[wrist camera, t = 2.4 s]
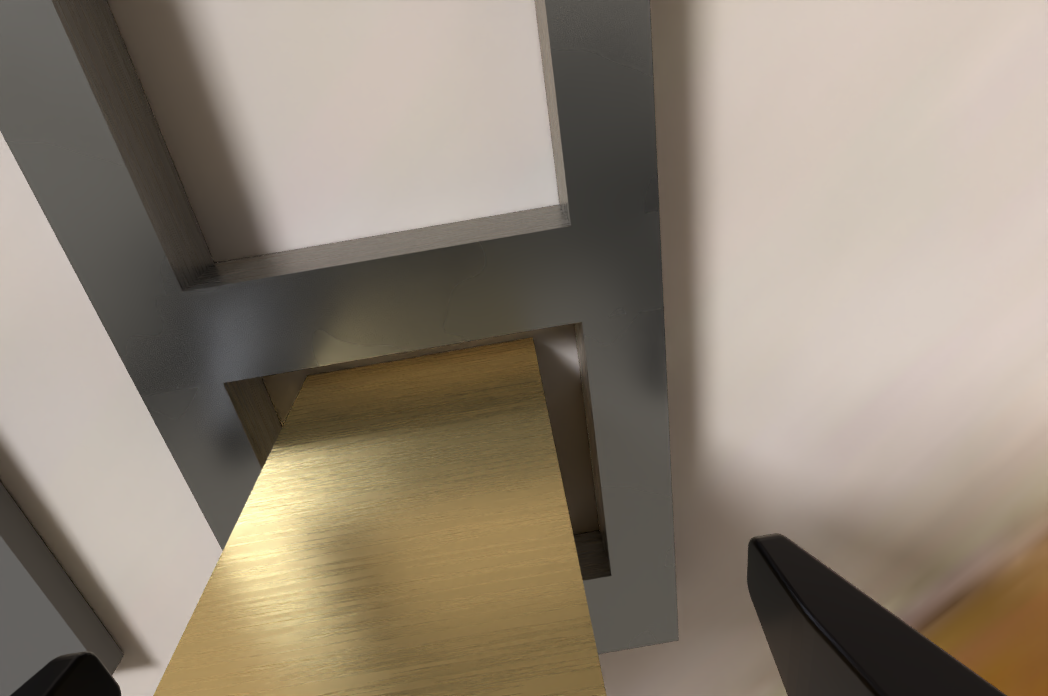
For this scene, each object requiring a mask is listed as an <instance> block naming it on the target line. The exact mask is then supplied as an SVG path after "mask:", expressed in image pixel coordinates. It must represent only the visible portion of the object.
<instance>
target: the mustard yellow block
mask: <svg viewBox="0 0 1048 696" xmlns="http://www.w3.org/2000/svg"><path fill="white" fill-rule="evenodd" d="M153 696H606V692H605V687H604V682H603V677H602V672H601V667H600V662H599V658H598V653H597V648H596V643H595V638H594V633H593V628H592V624H591V619H590V614H589V609H588V604H587V599H586V594H585V590H584V585H583V580H582V575H581V570H580V565H579V560H578V556H577V551H576V546H575V541H574V536H573V531H572V526H571V522H570V517H569V512H568V507H567V502H566V497H565V492H564V488H563V483H562V478H561V473H560V468H559V463H558V458H557V454H556V449H555V444H554V439H553V434H552V429H551V424H550V420H549V415H548V410H547V405H546V400H545V395H544V390H543V386H542V381H541V376H540V371H539V366H538V361H537V356H536V352H535V347H534V342H533V337H531V338H526V339H520V340H514V341H508V342H502V343H496V344H490V345H485V346H479V347H473V348H467V349H461V350H455V351H449V352H443V353H438V354H432V355H426V356H420V357H414V358H408V359H402V360H396V361H391V362H385V363H379V364H373V365H367V366H361V367H355V368H349V369H344V370H338V371H332V372H326V373H320V374H314V375H308V376H307V377H306V379H305V381H304V384H303V386H302V388H301V390H300V392H299V394H298V396H297V398H296V400H295V402H294V404H293V406H292V409H291V411H290V413H289V415H288V417H287V419H286V421H285V423H284V425H283V427H282V429H281V431H280V433H279V436H278V438H277V440H276V442H275V444H274V446H273V448H272V450H271V452H270V454H269V456H268V458H267V461H266V463H265V465H264V467H263V469H262V471H261V473H260V475H259V477H258V479H257V481H256V483H255V485H254V488H253V490H252V492H251V494H250V496H249V498H248V500H247V502H246V504H245V506H244V508H243V510H242V512H241V515H240V517H239V519H238V521H237V523H236V525H235V527H234V529H233V531H232V533H231V535H230V537H229V540H228V542H227V544H226V546H225V548H224V550H223V552H222V554H221V556H220V558H219V560H218V562H217V564H216V567H215V569H214V571H213V573H212V575H211V577H210V579H209V581H208V583H207V585H206V587H205V589H204V591H203V594H202V596H201V598H200V600H199V602H198V604H197V606H196V608H195V610H194V612H193V614H192V616H191V619H190V621H189V623H188V625H187V627H186V629H185V631H184V633H183V635H182V637H181V639H180V641H179V643H178V646H177V648H176V650H175V652H174V654H173V656H172V658H171V660H170V662H169V664H168V666H167V668H166V671H165V673H164V675H163V677H162V679H161V681H160V683H159V685H158V687H157V689H156V691H155V693H154V695H153Z"/></svg>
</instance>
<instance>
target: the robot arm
mask: <svg viewBox="0 0 1048 696" xmlns="http://www.w3.org/2000/svg"><path fill="white" fill-rule="evenodd" d="M747 583H748V589H749V593H750V596H751V599H752V602H753V604H754V607H755V610H756V612H757V615H758V618H759V620H760V623H761V626H762V628H763V631H764V634H765V636H766V639H767V642H768V644H769V647H770V649H771V652H772V655H773V657H774V660H775V663H776V665H777V668H778V671H779V673H780V676H781V679H782V681H783V684H784V687H785V689H786V692H787V694H788V696H1007V695H1005V694H1004V693H1002V692H1001V691H1000V690H998V689H997V688H995V687H994V686H993V685H991V684H990V683H988V682H987V681H986V680H984V679H983V678H982V677H980V676H979V675H977V674H976V673H975V672H973V671H972V670H970V669H969V668H968V667H966V666H965V665H963V664H962V663H961V662H959V661H958V660H956V659H955V658H954V657H952V656H951V655H950V654H948V653H947V652H945V651H944V650H943V649H941V648H940V647H938V646H937V645H936V644H934V643H933V642H931V641H930V640H929V639H927V638H926V637H925V636H923V635H922V634H920V633H919V632H918V631H916V630H915V629H913V628H912V627H911V626H909V625H908V624H906V623H905V622H904V621H902V620H901V619H899V618H898V617H897V616H895V615H894V614H893V613H891V612H890V611H888V610H887V609H886V608H884V607H883V606H881V605H880V604H879V603H877V602H876V601H874V600H873V599H872V598H870V597H869V596H867V595H866V594H865V593H863V592H862V591H861V590H859V589H858V588H856V587H855V586H854V585H852V584H851V583H849V582H848V581H847V580H845V579H844V578H842V577H841V576H840V575H838V574H837V573H835V572H834V571H833V570H831V569H830V568H829V567H827V566H826V565H824V564H823V563H822V562H820V561H819V560H817V559H816V558H815V557H813V556H812V555H810V554H809V553H808V552H806V551H805V550H803V549H802V548H801V547H799V546H798V545H797V544H795V543H794V542H792V541H791V540H790V539H788V538H787V537H785V536H783V535H781V534H769V535H763V536H757V537H753V538H751V540H750V541H749V544H748V567H747ZM10 696H121V690H120V687H119V685H118V683H117V682H116V681H115V679H114V678H113V677H112V675H111V674H110V673H109V671H108V670H107V669H106V667H105V666H104V665H103V663H102V662H101V661H100V659H99V658H98V657H97V656H96V655H95V654H94V653H92V652H89V651H83V652H78V653H72V654H66V655H61V656H59V657H56V658H55V659H53V660H51V661H50V662H49V663H48V664H46V665H45V666H44V667H43V668H42V669H41V670H39V671H38V672H37V673H36V674H35V675H33V676H32V677H31V678H30V679H29V680H28V681H26V682H25V683H24V684H23V685H22V686H21V687H19V688H18V689H17V690H16V691H15V692H13V693H12V694H11V695H10Z"/></svg>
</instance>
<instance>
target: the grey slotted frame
mask: <svg viewBox="0 0 1048 696" xmlns="http://www.w3.org/2000/svg"><path fill="white" fill-rule="evenodd" d="M535 8H536V16H537V24H538V32H539V40H540V49H541V57H542V65H543V73H544V81H545V89H546V97H547V106H548V114H549V122H550V130H551V138H552V146H553V154H554V163H555V171H556V179H557V187H558V195H559V203H560V205H554V206H548V207H542V208H536V209H530V210H525V211H519V212H513V213H507V214H501V215H495V216H489V217H483V218H478V219H472V220H466V221H460V222H454V223H448V224H442V225H436V226H430V227H425V228H419V229H413V230H407V231H401V232H395V233H389V234H383V235H378V236H372V237H366V238H360V239H354V240H348V241H342V242H336V243H330V244H325V245H319V246H313V247H307V248H301V249H295V250H289V251H283V252H278V253H272V254H266V255H260V256H254V257H248V258H242V259H236V260H230V261H225V262H219V263H214V261H213V259H212V256H211V254H210V251H209V249H208V247H207V244H206V242H205V239H204V237H203V234H202V232H201V230H200V227H199V225H198V222H197V220H196V217H195V215H194V213H193V210H192V208H191V205H190V203H189V200H188V198H187V196H186V193H185V191H184V188H183V186H182V183H181V181H180V179H179V176H178V174H177V171H176V169H175V166H174V164H173V162H172V159H171V157H170V154H169V152H168V149H167V147H166V145H165V142H164V140H163V137H162V135H161V132H160V130H159V128H158V125H157V123H156V120H155V118H154V115H153V113H152V111H151V108H150V106H149V103H148V101H147V98H146V96H145V94H144V91H143V89H142V86H141V84H140V81H139V79H138V76H137V74H136V72H135V69H134V67H133V64H132V62H131V59H130V57H129V55H128V52H127V50H126V47H125V45H124V42H123V40H122V38H121V35H120V33H119V30H118V28H117V25H116V23H115V21H114V18H113V16H112V13H111V11H110V8H109V6H108V4H107V1H106V0H0V131H1V133H2V135H3V137H4V138H5V140H6V142H7V144H8V146H9V148H10V150H11V152H12V154H13V155H14V157H15V159H16V161H17V163H18V165H19V167H20V169H21V171H22V172H23V174H24V176H25V178H26V180H27V182H28V184H29V186H30V188H31V189H32V191H33V193H34V195H35V197H36V199H37V201H38V203H39V205H40V206H41V208H42V210H43V212H44V214H45V216H46V218H47V220H48V222H49V223H50V225H51V227H52V229H53V231H54V233H55V235H56V237H57V239H58V240H59V242H60V244H61V246H62V248H63V250H64V252H65V254H66V256H67V258H68V259H69V261H70V263H71V265H72V267H73V269H74V271H75V273H76V275H77V276H78V278H79V280H80V282H81V284H82V286H83V288H84V290H85V292H86V293H87V295H88V297H89V299H90V301H91V303H92V305H93V307H94V309H95V310H96V312H97V314H98V316H99V318H100V320H101V322H102V324H103V326H104V327H105V329H106V331H107V333H108V335H109V337H110V339H111V341H112V343H113V344H114V346H115V348H116V350H117V352H118V354H119V356H120V358H121V360H122V361H123V363H124V365H125V367H126V369H127V371H128V373H129V375H130V377H131V378H132V380H133V382H134V384H135V386H136V388H137V390H138V392H139V394H140V395H141V397H142V399H143V401H144V403H145V405H146V407H147V409H148V411H149V412H150V414H151V416H152V418H153V420H154V422H155V424H156V426H157V428H158V429H159V431H160V433H161V435H162V437H163V439H164V441H165V443H166V445H167V446H168V448H169V450H170V452H171V454H172V456H173V458H174V460H175V462H176V463H177V465H178V467H179V469H180V471H181V473H182V475H183V477H184V479H185V480H186V482H187V484H188V486H189V488H190V490H191V492H192V494H193V496H194V497H195V499H196V501H197V503H198V505H199V507H200V509H201V511H202V513H203V514H204V516H205V518H206V520H207V522H208V524H209V526H210V528H211V530H212V531H213V533H214V535H215V537H216V539H217V541H218V543H219V545H220V547H221V548H222V550H224V548H225V546H226V544H227V542H228V540H229V537H230V535H231V533H232V531H233V529H234V527H235V525H236V523H237V521H238V519H239V517H240V515H241V512H242V510H243V508H244V506H245V504H246V502H247V500H248V498H249V496H250V494H251V492H252V490H253V488H254V485H255V483H256V481H257V479H258V477H259V475H260V473H261V471H262V469H263V467H264V465H265V463H266V461H267V458H268V456H269V454H270V452H271V450H272V448H273V446H274V444H275V442H276V440H277V438H278V436H279V433H280V431H281V429H282V426H281V424H280V422H279V419H278V417H277V414H276V412H275V409H274V407H273V405H272V402H271V400H270V397H269V395H268V392H267V390H266V388H265V385H264V383H263V380H262V378H261V376H267V375H273V374H279V373H285V372H290V371H296V370H302V369H308V368H314V367H320V366H326V365H332V364H337V363H343V362H349V361H355V360H361V359H367V358H373V357H379V356H384V355H390V354H396V353H402V352H408V351H414V350H420V349H426V348H431V347H437V346H443V345H449V344H455V343H461V342H467V341H473V340H478V339H484V338H490V337H496V336H502V335H508V334H514V333H520V332H525V331H531V330H537V329H543V328H549V327H555V326H561V325H567V324H572V323H574V326H575V334H576V342H577V350H578V358H579V366H580V374H581V383H582V391H583V399H584V407H585V415H586V423H587V432H588V440H589V448H590V456H591V464H592V472H593V480H594V489H595V497H596V505H597V513H598V521H599V529H600V531H596V532H590V533H584V534H578V535H573V536H574V541H575V546H576V551H577V556H578V560H579V565H580V570H581V575H582V580H583V585H584V590H585V594H586V599H587V604H588V609H589V614H590V619H591V624H592V628H593V633H594V638H595V643H596V648H597V653H598V654H602V653H608V652H614V651H619V650H625V649H631V648H637V647H643V646H649V645H655V644H660V643H666V642H672V641H678V640H679V638H678V616H677V594H676V572H675V550H674V528H673V505H672V483H671V461H670V439H669V417H668V395H667V372H666V350H665V328H664V306H663V284H662V262H661V240H660V217H659V195H658V173H657V151H656V129H655V107H654V84H653V62H652V40H651V18H650V0H535Z"/></svg>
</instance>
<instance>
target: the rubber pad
mask: <svg viewBox="0 0 1048 696" xmlns="http://www.w3.org/2000/svg"><path fill="white" fill-rule="evenodd" d="M83 651H89V652H92V653H94V654H95V655H96V656H97V657H98V658H99V659H100V661H101V662H102V663H103V665H104V666H105V667H106V669H107V670H108V671H109V673H110V674H111V675H113V673H114V671H115V669H116V668H117V666H118V664H119V662H120V660H121V659H122V657H123V655H124V654H123V653H122V651H121V650H120V648H119V647H118V646H117V644H116V643H115V641H114V640H113V639H112V637H111V636H110V634H109V633H108V632H107V630H106V629H105V627H104V626H103V625H102V623H101V622H100V621H99V619H98V618H97V616H96V615H95V614H94V612H93V611H92V609H91V608H90V607H89V605H88V604H87V602H86V601H85V600H84V598H83V597H82V595H81V594H80V593H79V591H78V590H77V588H76V587H75V586H74V584H73V583H72V581H71V580H70V579H69V577H68V576H67V574H66V573H65V572H64V570H63V569H62V567H61V566H60V565H59V563H58V562H57V560H56V559H55V558H54V556H53V555H52V553H51V552H50V551H49V549H48V548H47V546H46V545H45V544H44V542H43V541H42V539H41V538H40V537H39V535H38V534H37V532H36V531H35V530H34V528H33V527H32V525H31V524H30V523H29V521H28V520H27V518H26V517H25V516H24V514H23V513H22V511H21V510H20V509H19V507H18V506H17V504H16V503H15V502H14V500H13V499H12V497H11V496H10V495H9V493H8V492H7V490H6V489H5V488H4V486H3V485H2V483H1V482H0V696H10V695H11V694H12V693H13V692H15V691H16V690H17V689H18V688H19V687H21V686H22V685H23V684H24V683H25V682H26V681H28V680H29V679H30V678H31V677H32V676H33V675H35V674H36V673H37V672H38V671H39V670H41V669H42V668H43V667H44V666H45V665H46V664H48V663H49V662H50V661H51V660H53V659H55V658H56V657H59V656H61V655H66V654H72V653H78V652H83Z"/></svg>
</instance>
